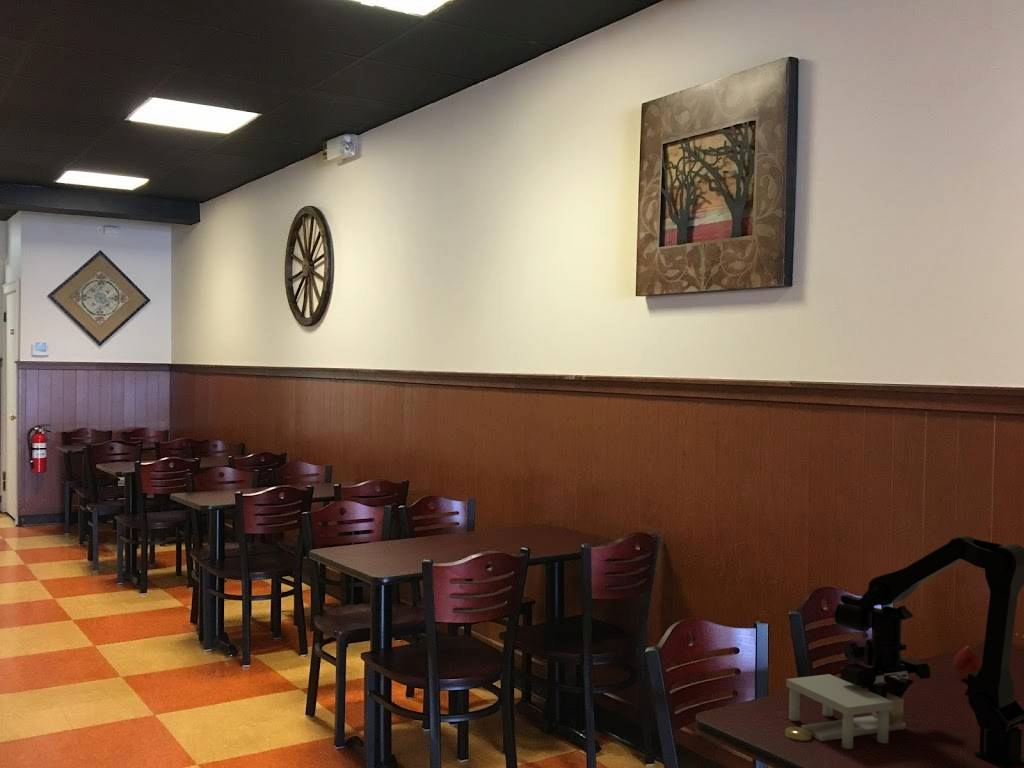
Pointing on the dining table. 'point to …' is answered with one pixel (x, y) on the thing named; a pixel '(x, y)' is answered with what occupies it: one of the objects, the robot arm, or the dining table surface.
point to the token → (798, 733)
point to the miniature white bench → (840, 703)
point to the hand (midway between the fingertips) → (884, 713)
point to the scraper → (860, 723)
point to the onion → (966, 662)
